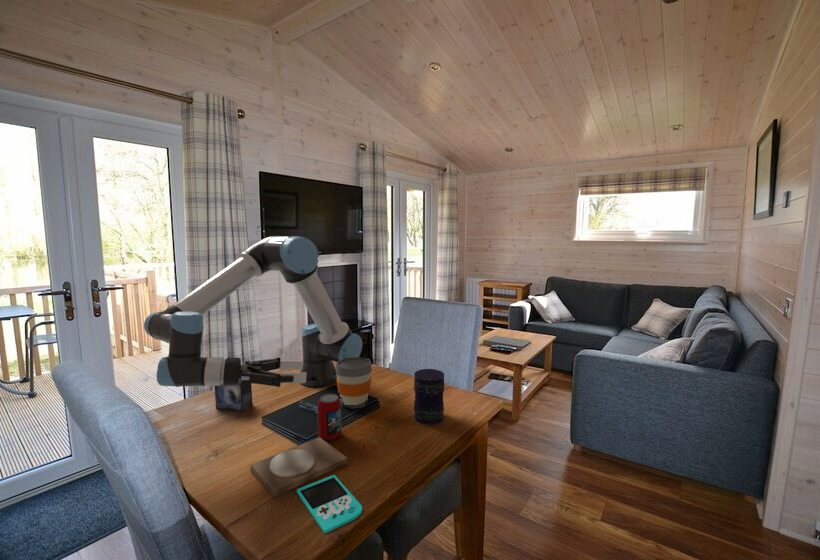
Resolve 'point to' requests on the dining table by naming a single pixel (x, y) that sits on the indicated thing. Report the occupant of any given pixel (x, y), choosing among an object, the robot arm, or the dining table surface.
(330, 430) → the beverage can
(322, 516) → the handheld game console
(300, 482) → the drinks board
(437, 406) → the dark blue cylinder
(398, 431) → the dining table surface
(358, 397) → the reusable coffee cup
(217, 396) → the small box
